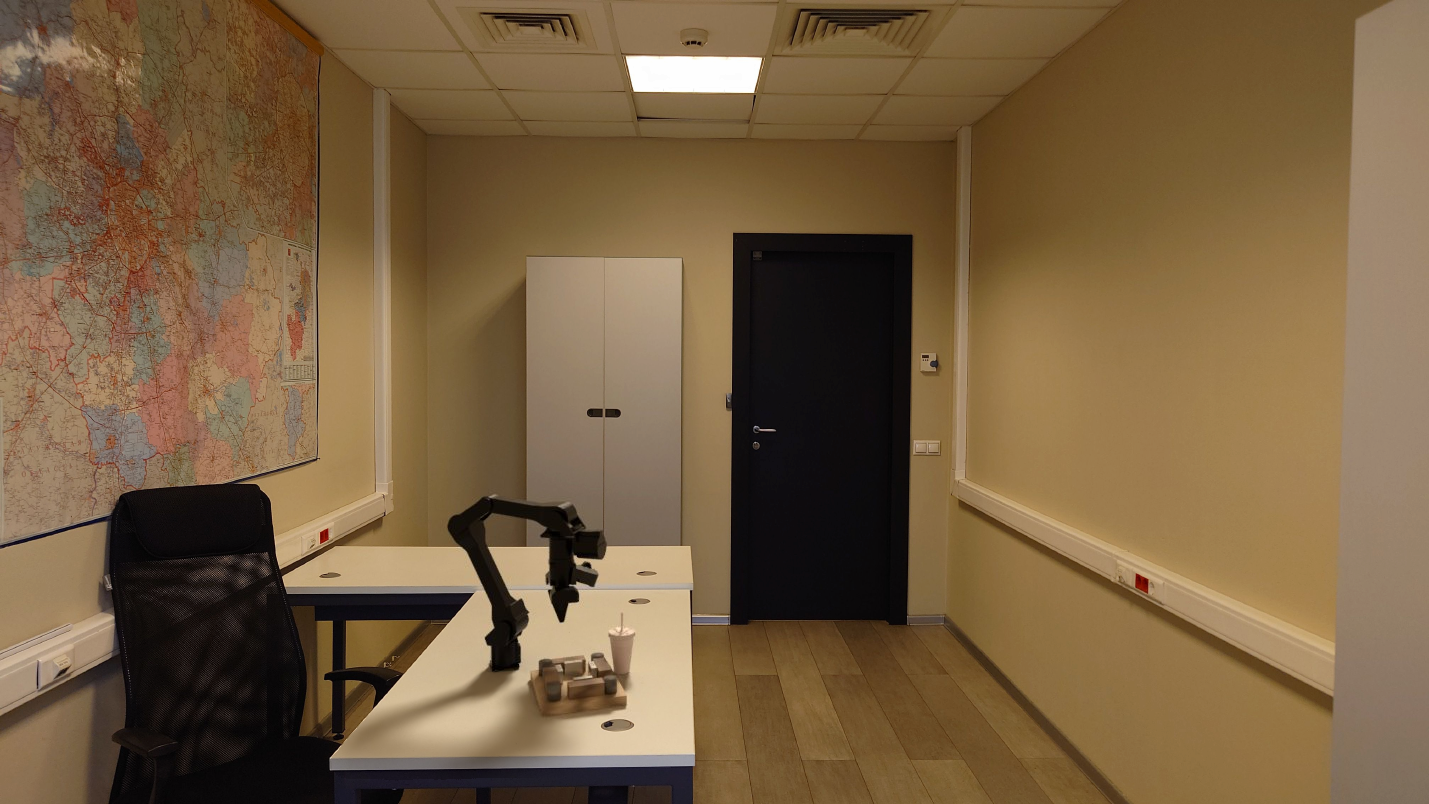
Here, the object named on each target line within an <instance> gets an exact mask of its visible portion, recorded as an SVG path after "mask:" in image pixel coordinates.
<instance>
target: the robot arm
mask: <svg viewBox="0 0 1429 804" xmlns="http://www.w3.org/2000/svg"><path fill="white" fill-rule="evenodd" d="M493 514H494V515H501V516H506V517H507V516H508V517H511V518H518V519H523V520H527V521H528V520H529V521H533V522H536V523H538V524H539V525H540V526H542V527H544V528H545V530H544V531H543V532H542V533H541V534H540V535H539V537H540V538H541V539H548V561H547V562H548V563H547V564H548V571H547V572H546V573H545V575H544V576H545V579H544V582H545V585H546V586H549V587H551V588H550V589H547V593H548V597H549V599H550V604H551V605H552V608H553V611H554V612H555V615H556V617H557V619H558V622H559V624H561V623H565V620H566V618H567V617H566V616H567V611H568V609H569V604H576V603H579V602H580V592H579V589H578V588H576V585H577V583H579V584H583V585H585V586H589V587H590V588H595V587H596V583H597V582H598V581H597V580H598V578H599V574H600V573H598V570H596V569H595V568H593V567H592V564H591V563H592V562H590V561H587V560H597V561H599V560H600V561H603V560H604V558H605V556H606V553H607V545H608V543H607V541H606V536H605V535H604V530H603V529H587V526H586V525H585V523H584V522H583V521H582V519H581V518H580V516H579V515H578V512H577V508H576V507H575V506H574V504H573V503H572V502H570V501H549V502H536V501H531V500H525V499H520V498H516V497H515V498H513V497H508V496H502V495H498V494H495V493H490V494H487V495H484V496H482V497H481V498H479V500H478V501H476V502H475V503H474V504H472V505H471V506H470V507H468V508H466V509H464V511H462V512H459V513H457V514H454V515H452V516H450V518H449V520H448V522H447V525H446V528H447V532H448V533H449V535H450V537H451V538H452V539H453V540H454V542H455V543H456V545H458V546H459V547H460V548H462V549H463V550H464V551H465V553H466V554H467V556H468V558H469V560H470V562H471V565H472V566H473V569H474V570H475V573H476V575H477V577H478V580H479V581H480V583H481V586H482V588H483V590H484V592H485V594H486V596H487V598H488V600H489V602H490V606H491V622H492V626H493V628H492V629H491V631H489V632H488V633H487V634H486V635H485V636H484V641H485V643H486V646H488V647H490V660H489V665H490V670H491V672H493V673H494V672H501V671H509V670H517V669H518V670H519V669H520V667H521V666H520V664H521V663H522V645H521V643H519V639H518V638H519V637H520V636H522V634H523V631H524V630H526V628H527V627H528V625H529V621H530V616H529V614H530V611H529V610H528V608H527V607H526V605H525V602H524V600H523V598H521V597H520V598H518V599H517V598H516V599H515V598H514V597H513V596H512V595H511V593H510V592H509V589H508V587H507V585H506V582H505V581H504V579H503V576H502V574H501V572H500V570H499V568H498V566H497V564H496V562H495V559H494V558H493V555H492V553H491V550H490V549H489V547H488V544H487V542H486V535H487V534H486V533H487V531H486V527H485V521H486V520H487V519H489V518H490V517H491V516H492V515H493ZM570 526H571V527H570ZM575 557H576V558H577V559H581V560H582V559H585V560H584V561H583V562H582V563H581V564H577V562H575Z"/></svg>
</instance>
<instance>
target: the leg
mask: <svg viewBox="0 0 1429 804" xmlns="http://www.w3.org/2000/svg"><path fill="white" fill-rule="evenodd" d="M542 678H543V682H544V687H545V691H546V695H547V700H549V701H557V700H560V699H561V682H560V680H559V676H558V673H557V669H556V665H555V663H552V664H543V665H542Z"/></svg>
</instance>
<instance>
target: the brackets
mask: <svg viewBox="0 0 1429 804" xmlns="http://www.w3.org/2000/svg"><path fill="white" fill-rule="evenodd" d="M587 664H588V675H589V676H582V677H575V678H573V681H579V680H587V679H594V678H597V667H596V665H595V663H594V661H592V662H591V661H588V662H587ZM556 669H557V673H558V676H559V680H560V682H561V685H563V669H562V667H561V664H560V665H556ZM581 674H583V661H582V660H573V661H565V662H564V675H565V676H573V675H581Z"/></svg>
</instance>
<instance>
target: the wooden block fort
mask: <svg viewBox="0 0 1429 804" xmlns="http://www.w3.org/2000/svg"><path fill="white" fill-rule="evenodd" d="M573 660H582V661H583V674H581V675H573V676H565V675H564V662H565V661H573ZM586 661H587V658H586V657H585V655H584V654H583V655H574V656H564V657H556V658H551V659H550V658H542V659H539V660H538V669H534V670H530V683H531V686H532V689H533V692H534V696H535V699H536V702H537V703H536V704H537V707H538V709H539V713H540V717H542V718H544V717H550V716H557V715H566V714H572V713H579V712H585V711H592V710H597V709H598V710H599V709H600V710H601V709H606V708H613V707H618V706H626V705H628V704H627V703H628V700H627V699H628V695H627V693H626V691H625V689H624V688H623V686H622V684H621V683H620V680H619V679H618V677H617V675H616V673H615V672H614V669H612V666H611V664H610V662H609V661H608V660H607V659H606V657H605V654H604V653H603V652H600V651H599V652H598V651H597V652H593V653H591V655H590V662H592V661H594V663H595V665H596V667H597V678H594V679H587V680H579V681H573V678H575V677H582V676H589V675H588V663H587V662H586ZM552 663H555V665H560V664H561V667H562V669H563V685H561V699H560V700H557V701H549V700H547V695H546V691H545V687H544V682H543V678H542V665H543V664H552Z"/></svg>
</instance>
